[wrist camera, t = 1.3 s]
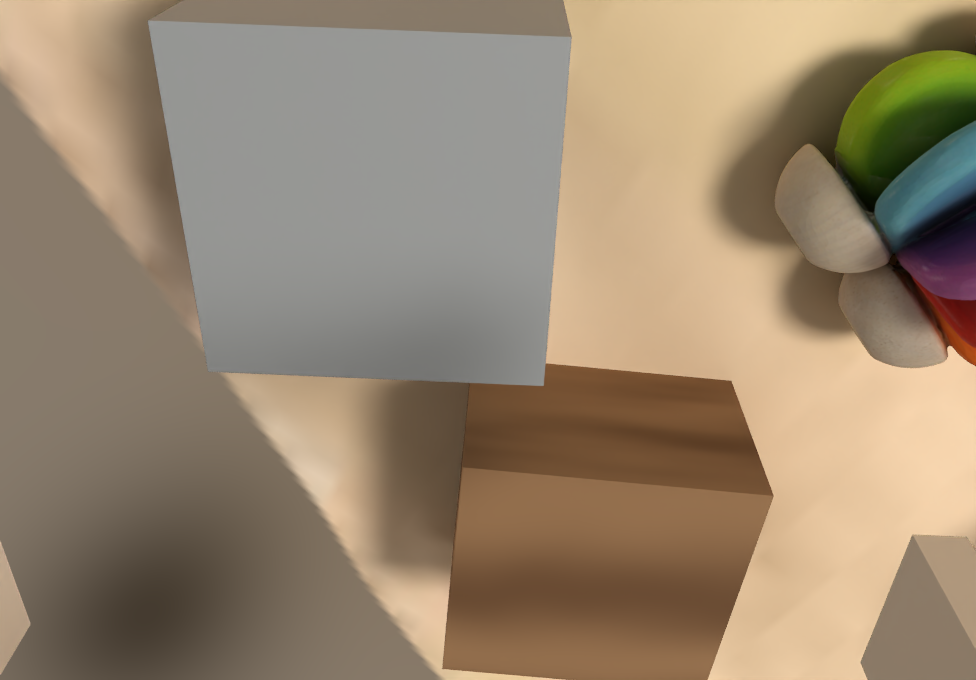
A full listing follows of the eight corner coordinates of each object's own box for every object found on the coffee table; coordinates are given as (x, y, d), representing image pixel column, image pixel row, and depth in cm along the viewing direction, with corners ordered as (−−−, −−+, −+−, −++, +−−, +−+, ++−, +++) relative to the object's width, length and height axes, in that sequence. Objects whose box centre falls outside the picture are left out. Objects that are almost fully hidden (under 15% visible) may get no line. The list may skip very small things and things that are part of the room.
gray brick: (228, -27, 23) (147, 20, 18) (559, -14, 23) (571, 37, 18) (264, 269, 28) (207, 371, 23) (539, 280, 28) (543, 386, 23)
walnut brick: (472, 353, 30) (462, 467, 24) (730, 377, 30) (773, 495, 25) (453, 540, 34) (442, 668, 29) (675, 560, 35) (703, 691, 29)
